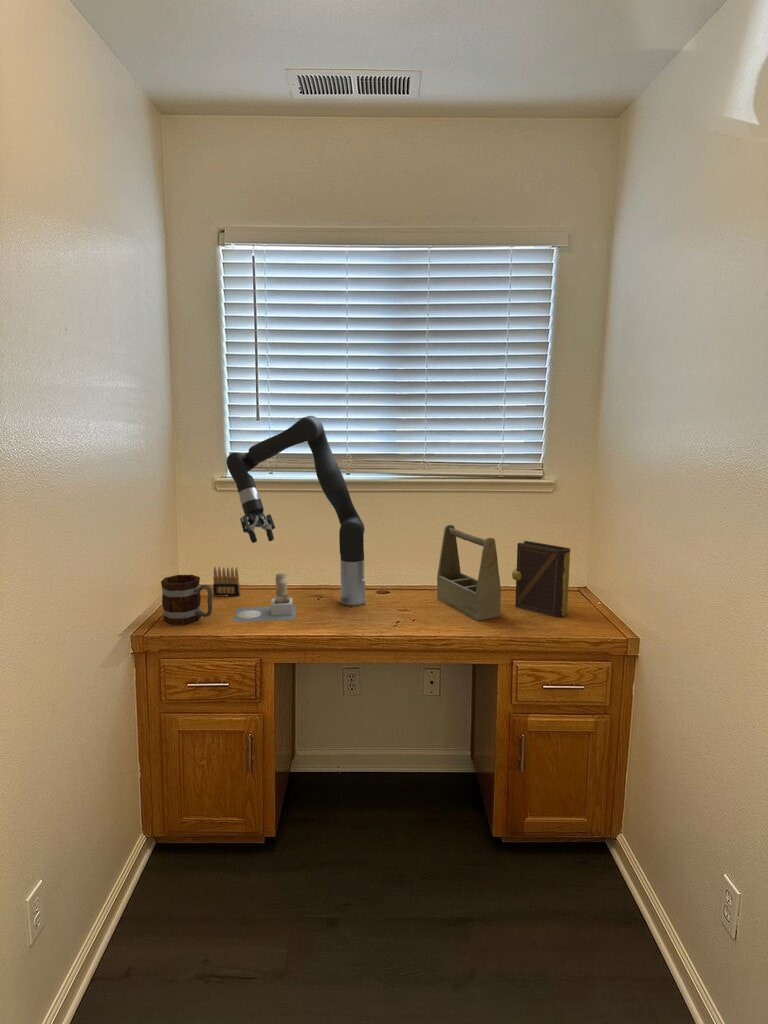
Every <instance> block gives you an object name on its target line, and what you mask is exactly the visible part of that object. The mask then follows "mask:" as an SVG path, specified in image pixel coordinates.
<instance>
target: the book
mask: <svg viewBox="0 0 768 1024" xmlns="http://www.w3.org/2000/svg"><path fill="white" fill-rule="evenodd" d="M516 548H517V550H516V568H514V569H513V570H512V572H511V576H512V577H511V578H512V579H513V580H514V581H515V604H514V607H515V608H518V609H522V610H526V611H529V612H533V613H538V614H542V615H544V616H550V617H554V618H559V619H562V618H565V617H566V616H568V615H567V614H568V605H569V604H568V603H569V583H570V582H569V580H570V563H571V560H570V559H571V548H570V547H566V546H560V545H559V546H558V545H552V544H548V543H542V542H535V541H529V540H524V541H523V542H518V543H517V547H516Z"/></svg>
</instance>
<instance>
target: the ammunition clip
mask: <svg viewBox="0 0 768 1024" xmlns="http://www.w3.org/2000/svg"><path fill="white" fill-rule="evenodd" d="M212 579H213V586H212V587H213V588H212V589H213V590H212V596H213V595H228V596H227V597H235V596H239V595H240V596H241V587H240V577H239V569H238V567H235V569H234V567H231V568H229V566H227V568H225V566H223V567H222V570H221V567H220V566H218V569H217V568H216V566H214V568H213V578H212ZM240 596H239V597H240Z"/></svg>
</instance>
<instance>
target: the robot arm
mask: <svg viewBox="0 0 768 1024" xmlns="http://www.w3.org/2000/svg"><path fill="white" fill-rule="evenodd" d="M326 434H327V433H326V431H325V428H324V424H323V422H322V420H320V418H318V417H317V416H314V415H307V416H304V417H302V418H299V420H298V421H296V422H295V423H293V424H292V425H291V426H289V427H288V428H287V429H285V430H283V431H281V432H279V433H277V434H276V435H273V436H271V437H269V438H266V439H264V440H262V441H260V442H257V443H256V444H254V445H252V446H250V447H249V449H248V452H246V453H244V454H242V453H240V452H231V453H230V454H228V456H227V458H226V467H227V470H228V472H229V473H230V476H231V478H232V479H233V481H234V482H235V486H236V489H237V493H238V496H239V501H240V504H241V507H242V511H243V513H244V515H243V516H241V517H240V518H239V520H240V523H241V524H240V525H241V527H242V532H243V533H245V534H246V533H247V534H248V536H249V539H250V542H251V543H252V544H254V543H257V541H258V539H257V535H256V533H255V530H256V528H261V529H262V530H264V531H265V532H266V536H267V540H268V542H272V541H274V540H275V539H274V538H275V537H274V533H273V530H274V529H276V525H275V523H274V520H273V517H272V515H271V514H270V513H269V514H267V515H265V514H264V510H265V509H264V505H263V502H262V499H261V496H260V494H259V490H258V488H257V485H256V481H255V479H254V477H253V476H252V475H251V474H250V473H249V472H250V471H251V470H253V469H255V467H257V466H258V465H259V464H261V463H263V462H264V461H267V460H269V459H271V458H273V457H274V456H276V455H278V454H280V453H281V452H283V451H285V450H286V449H288V448H290V447H291V448H292V447H293V446H296V445H299V444H302V443H307V444H308V447H309V448H310V451H311V454H312V457H313V463H314V471H315V474H316V477H317V481H318V482H319V485H320V487H321V490H322V492H323V494H324V495H325V497H326V499H327V500H328V501H329V502H330V505H331V506H332V508H333V509H334V511H335V513H336V516H337V518H338V521H339V524H340V527H339V533H338V539H339V554H340V555H339V557H340V602H341V604H342V605H346V606H360V605H363V604H366V579H365V549H364V548H365V547H364V545H365V544H364V541H365V540H364V539H365V538H364V534H365V525H364V522H363V521H362V519H361V516H360V515H359V513H358V512H357V510H356V508H355V506H354V503H353V501H352V498H351V494H350V492H349V489H348V485H347V484H346V481H345V478H344V476H343V472H342V471H341V469H340V467H339V464H338V462H337V460H336V458H335V455H334V453H333V452H332V450H331V447H330V444H329V442H328V438H327V435H326Z"/></svg>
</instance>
